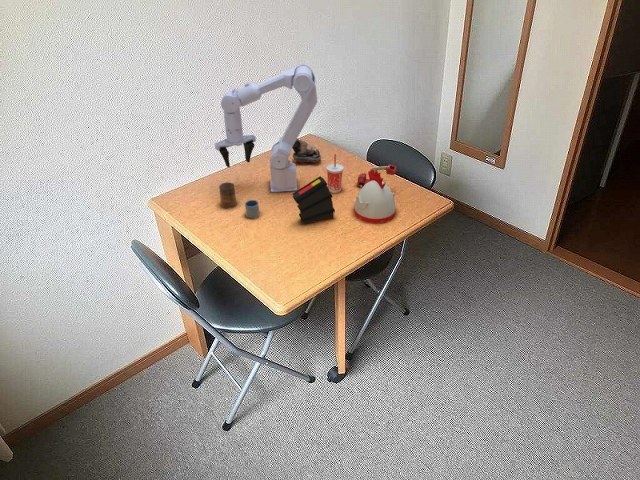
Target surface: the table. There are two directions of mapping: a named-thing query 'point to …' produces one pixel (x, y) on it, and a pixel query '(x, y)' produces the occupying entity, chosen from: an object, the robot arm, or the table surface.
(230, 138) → the robot arm
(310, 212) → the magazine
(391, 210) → the kitchen timer
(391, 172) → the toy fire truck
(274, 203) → the table surface
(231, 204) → the oak chip bottom
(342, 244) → the table surface
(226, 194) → the walnut chip
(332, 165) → the beverage cup
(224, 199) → the disc
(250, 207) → the plastic cup
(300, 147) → the bison figurine
